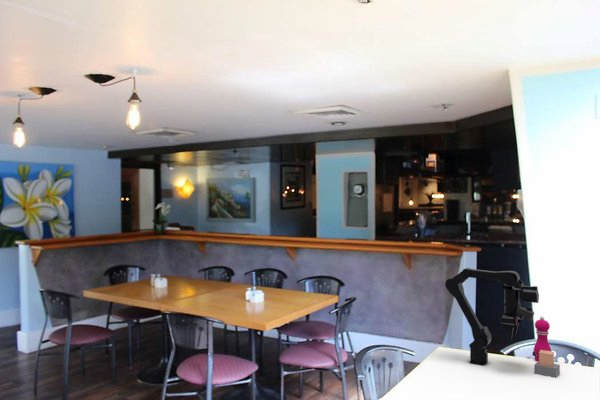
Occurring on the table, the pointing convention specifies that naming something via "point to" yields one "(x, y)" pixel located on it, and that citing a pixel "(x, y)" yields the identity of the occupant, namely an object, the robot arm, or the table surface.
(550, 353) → the terracotta block
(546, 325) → the pepper mill
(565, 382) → the table surface
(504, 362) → the table surface
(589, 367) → the table surface
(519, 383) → the table surface
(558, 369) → the gray box
